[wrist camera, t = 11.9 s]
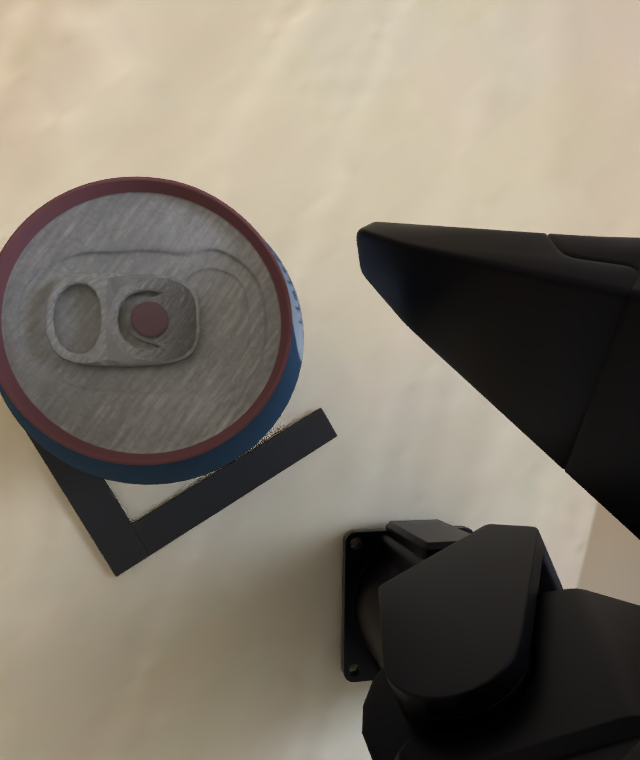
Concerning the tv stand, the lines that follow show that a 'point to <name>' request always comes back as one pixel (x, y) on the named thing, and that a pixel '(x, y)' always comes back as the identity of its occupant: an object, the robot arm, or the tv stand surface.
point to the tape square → (187, 509)
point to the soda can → (145, 330)
